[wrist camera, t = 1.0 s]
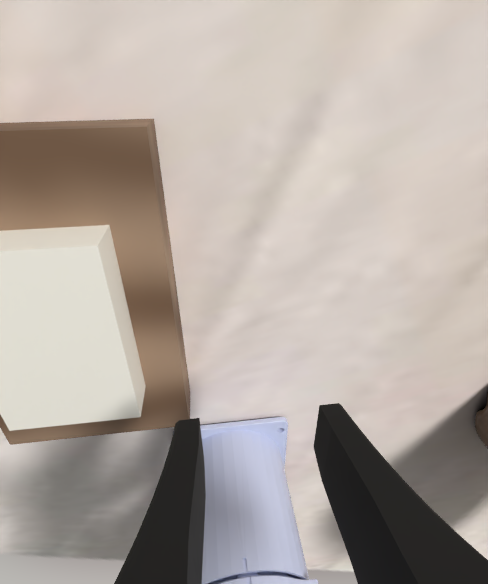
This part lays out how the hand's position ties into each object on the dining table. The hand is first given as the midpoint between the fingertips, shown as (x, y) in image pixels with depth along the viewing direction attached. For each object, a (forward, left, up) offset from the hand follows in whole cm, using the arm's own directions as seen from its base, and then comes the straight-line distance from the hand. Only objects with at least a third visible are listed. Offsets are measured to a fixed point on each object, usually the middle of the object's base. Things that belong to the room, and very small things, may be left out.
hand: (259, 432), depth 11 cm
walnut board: (0, +8, -9) cm, 12 cm away
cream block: (0, +8, -7) cm, 11 cm away
